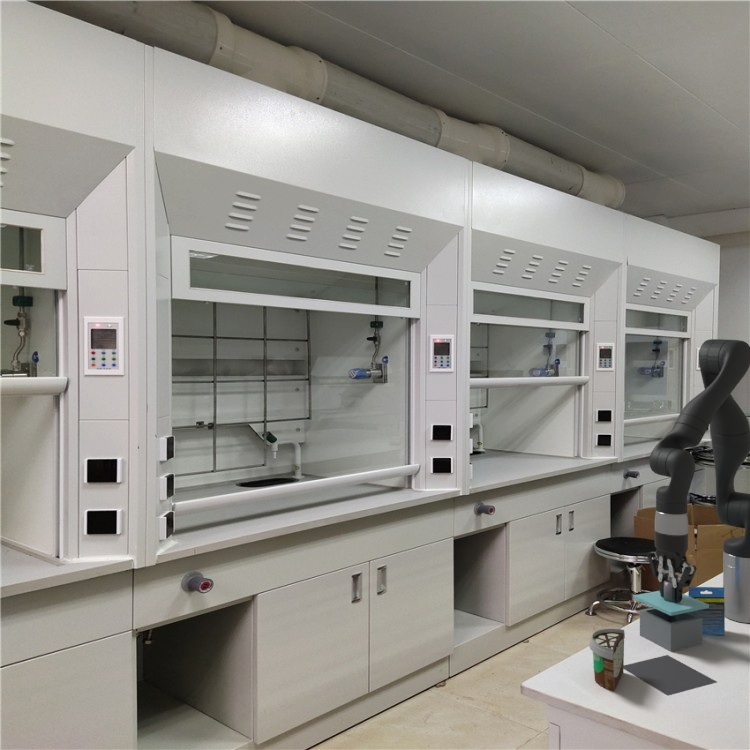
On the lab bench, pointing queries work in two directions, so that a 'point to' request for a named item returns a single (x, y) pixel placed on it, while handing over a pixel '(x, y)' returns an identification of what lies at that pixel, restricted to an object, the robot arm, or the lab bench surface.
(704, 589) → the label tape cartridge
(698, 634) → the tub
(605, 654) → the food container
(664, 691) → the mat
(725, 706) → the lab bench surface
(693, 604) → the lid
